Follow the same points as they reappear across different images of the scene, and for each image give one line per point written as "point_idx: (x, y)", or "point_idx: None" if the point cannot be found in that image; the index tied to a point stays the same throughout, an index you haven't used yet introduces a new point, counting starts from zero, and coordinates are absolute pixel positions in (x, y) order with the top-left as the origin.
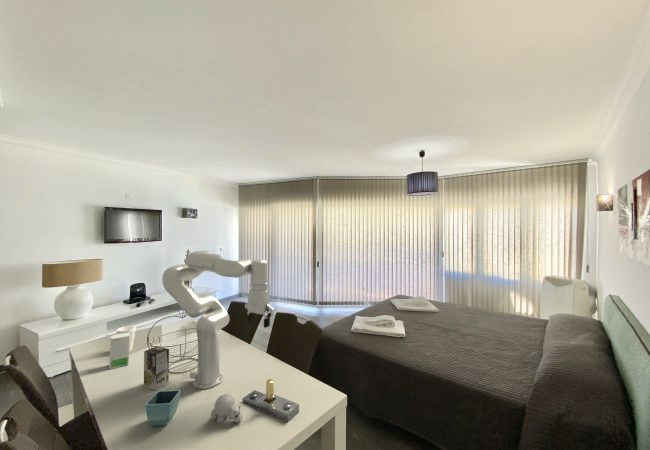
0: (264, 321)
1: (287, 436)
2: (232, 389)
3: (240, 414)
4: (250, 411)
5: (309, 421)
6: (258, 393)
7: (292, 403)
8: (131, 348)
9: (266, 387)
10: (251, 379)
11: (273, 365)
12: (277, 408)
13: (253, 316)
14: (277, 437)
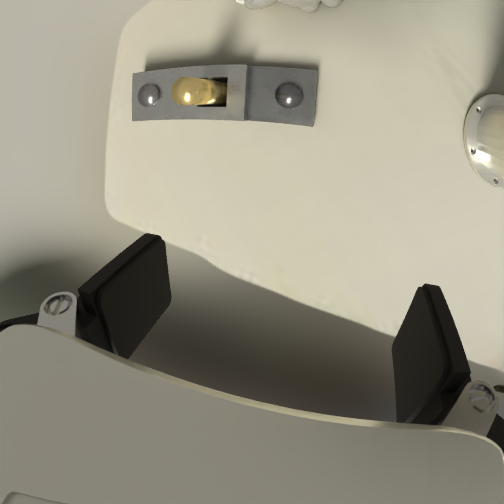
0: (107, 269)
1: (123, 44)
2: (402, 119)
3: (248, 3)
4: (257, 48)
5: (110, 106)
6: (285, 114)
7: (146, 113)
8: None
9: (198, 78)
10: (380, 196)
11: (355, 297)
12: (166, 73)
13: (401, 397)
14: (138, 29)
